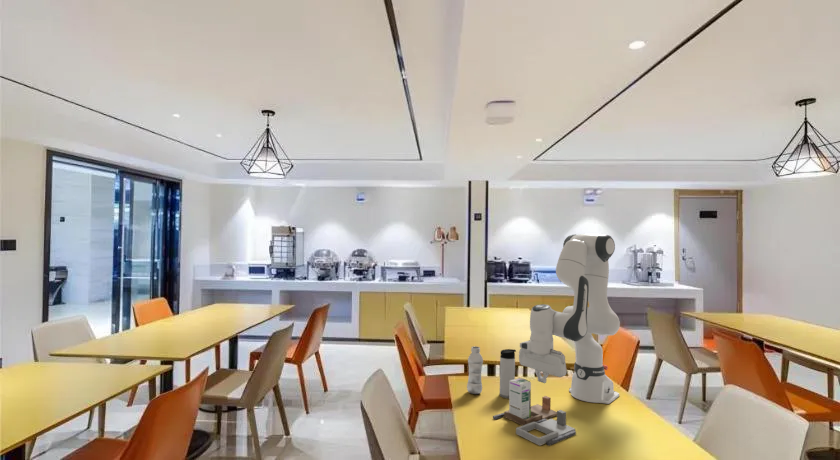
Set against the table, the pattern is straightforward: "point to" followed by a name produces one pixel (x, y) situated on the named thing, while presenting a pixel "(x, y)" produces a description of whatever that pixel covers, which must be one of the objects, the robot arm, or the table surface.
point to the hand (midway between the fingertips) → (542, 382)
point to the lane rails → (549, 440)
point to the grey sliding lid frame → (546, 429)
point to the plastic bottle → (475, 371)
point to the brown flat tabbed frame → (534, 413)
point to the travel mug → (506, 371)
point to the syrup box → (520, 398)
